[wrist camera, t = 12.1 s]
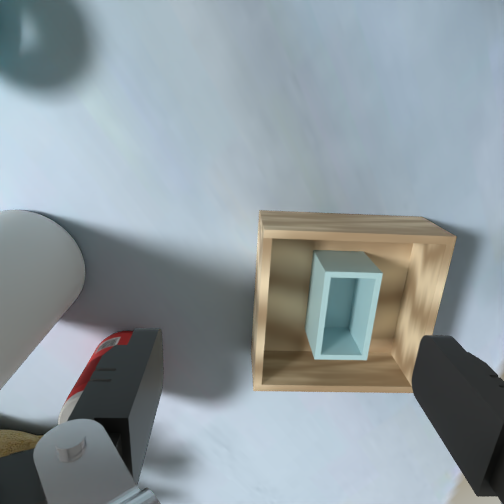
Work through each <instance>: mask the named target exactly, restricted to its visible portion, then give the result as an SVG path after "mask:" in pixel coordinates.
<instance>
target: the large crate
mask: <svg viewBox="0 0 504 504" xmlns="http://www.w3.org/2000/svg"><path fill="white" fill-rule="evenodd" d="M456 238H457V237H456V236H455V235H453V234H451V233H450V232H448V231H446V230H444V229H443V228H441V227H439V226H437V225H436V224H434V223H432V222H430V221H429V220H427V219H425V218H423V217H413V216H388V215H363V214H338V213H313V212H287V211H262V210H259V226H258V243H257V260H256V277H255V293H254V310H253V327H252V344H251V359H252V374H253V390H254V391H301V392H379V393H413V390H412V374H413V369H414V365H415V361H416V357H417V353H418V349H419V344H420V341H421V339H422V337H423V336H425V335H432V334H433V330H434V326H435V322H436V318H437V314H438V310H439V306H440V302H441V298H442V294H443V290H444V286H445V282H446V278H447V274H448V270H449V266H450V262H451V258H452V254H453V250H454V246H455V242H456ZM313 250H333V251H363V252H364V253H365V254H366V255H367V256H368V257H369V258H370V259H371V261H372V262H373V263H374V264H375V265H376V266H377V267H378V268H379V269H380V271H381V272H382V273H383V275H382V281H381V286H380V292H379V297H378V303H377V308H376V313H375V319H374V324H373V330H372V335H371V341H370V346H369V352H368V357H367V360H319V359H314V357H313V353H312V350H311V347H310V344H309V341H308V338H307V335H306V331H305V321H306V312H307V302H308V293H309V284H310V275H311V266H312V257H313Z"/></svg>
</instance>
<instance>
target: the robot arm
mask: <svg viewBox="0 0 504 504" xmlns="http://www.w3.org/2000/svg"><path fill="white" fill-rule="evenodd" d="M162 386H163V348H162V331H161V329H152V328H135V329H134V331H133V333H132V336H131V338H130V340H129V342H128V344H127V345H115V346H113V347H112V348H111V349H110V350H108V351H107V352H106V353H105V354H104V355H102V357H101V359H100V361H99V363H98V364H97V366H96V369H95V371H94V372H93V374H92V376H91V377H90V381H88V383H87V385H86V387H85V388H84V390H83V392H82V394H81V396H80V398H79V400H78V401H77V403H76V405H75V407H74V409H73V411H72V413H71V414H70V416H69V418H68V420H67V422H64V423H62V424H59V425H57V426H56V427H54V428H52V429H51V430H49V431H48V432H47V433H46V434H45V435H44V436H43V437H42V438H41V439H40V440H39V441H38V443H37V445H36V447H35V448H33V449H30V450H27V451H24V452H20V453H16V454H12V455H8V456H4V457H0V504H160V502H159V501H158V499H157V497H156V496H155V494H154V493H153V492H152V491H151V490H150V489H149V488H145V489H144V490H142V491H141V490H140V489H139V488H138V486H137V484H138V481H139V477H140V473H141V469H142V465H143V461H144V458H145V454H146V450H147V446H148V442H149V438H150V434H151V431H152V427H153V423H154V419H155V415H156V411H157V408H158V404H159V400H160V396H161V392H162ZM412 390H413V393H414V396H415V398H416V399H417V401H418V403H419V404H420V406H421V407H422V409H423V411H424V412H425V414H426V415H427V417H428V419H429V420H430V422H431V423H432V425H433V427H434V428H435V430H436V431H437V433H438V435H439V436H440V438H441V439H442V441H443V443H444V444H445V446H446V447H447V449H448V451H449V452H450V454H451V455H452V457H453V459H454V460H455V462H456V463H457V465H458V467H459V468H460V470H461V471H462V473H463V475H464V476H465V478H466V479H467V481H468V483H469V484H470V486H471V487H472V489H473V490H474V492H475V494H476V495H477V496H498V497H499V499H500V501H501V502H502V503H501V504H504V381H503V380H502V379H501V378H498V375H497V374H496V373H495V372H494V371H493V370H492V369H491V368H490V367H489V366H488V365H487V364H486V363H485V362H483V361H482V360H480V359H479V358H477V357H476V356H474V355H472V354H471V353H469V352H466V351H465V350H464V349H463V348H462V346H461V345H460V344H459V343H458V342H457V341H456V340H455V339H454V338H453V337H451V336H443V335H425V336H423V337H422V339H421V341H420V344H419V349H418V353H417V357H416V361H415V365H414V369H413V374H412Z"/></svg>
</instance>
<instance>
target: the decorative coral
mask: <svg viewBox="0 0 504 504" xmlns="http://www.w3.org/2000/svg"><path fill="white" fill-rule="evenodd" d="M43 436H44V435H39V436H36V435H33V434H30V433H27V432H22V431H15V430H0V457H4V456H8V455H10V454H12V453H16V452H20V451H24V450H30V449H33V448H35V447H36V445H37V443H38V441H39V440H40V439H41V438H42V437H43Z"/></svg>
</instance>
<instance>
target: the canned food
mask: <svg viewBox="0 0 504 504" xmlns="http://www.w3.org/2000/svg"><path fill="white" fill-rule="evenodd" d="M132 333H133V331H122V332H117V333H114V334H112V335H110V336H109V337H107V338H106V339H104V340H103V341H102V342H101V343H100V344H99V346H98V347H97V348H96V350H95V352H94V353H93V355H92V357H91V359H90V360H89V362H88V364H87V365H86V367H85V369H84V370H83V372H82V374H81V376H80V377H79V379H78V381H77V382H76V384H75V386H74V387H73V389H72V391H71V393H70V394H69V396H68V398H67V400H66V401H65V403H64V405H63V407H62V409H61V412H60V414H59V418H58V425H59V424H62V423H64V422H67V420H68V418H69V416H70V414H71V413H72V411H73V409H74V407H75V405H76V403H77V401H78V400H79V398H80V396H81V394H82V392H83V390H84V388H85V387H86V385H87V383H88V381H90V377H91V376H92V374H93V372H94V371H95V369H96V366H97V364H98V363H99V361H100V359H101V357H102V355H104V354H105V353H106V352H107V351H108V350H110V349H111V348H112V347H113V346H115V345H127V344H128V342H129V340H130V338H131V336H132Z"/></svg>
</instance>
